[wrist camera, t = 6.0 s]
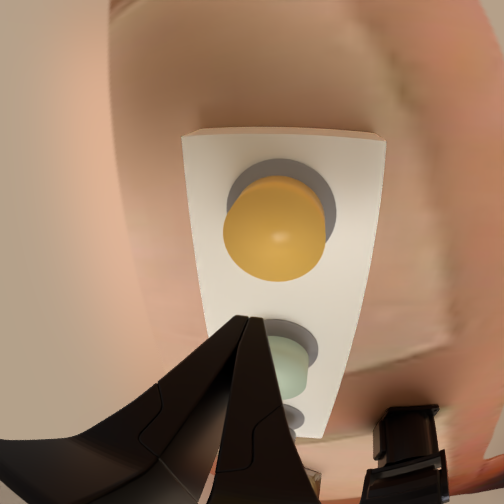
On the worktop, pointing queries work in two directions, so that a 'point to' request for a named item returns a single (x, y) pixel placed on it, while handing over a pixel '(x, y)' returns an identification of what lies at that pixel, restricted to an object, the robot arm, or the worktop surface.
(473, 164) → the worktop surface
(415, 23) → the worktop surface
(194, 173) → the button panel
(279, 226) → the button amber
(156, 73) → the worktop surface
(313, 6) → the worktop surface
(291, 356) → the button sage
